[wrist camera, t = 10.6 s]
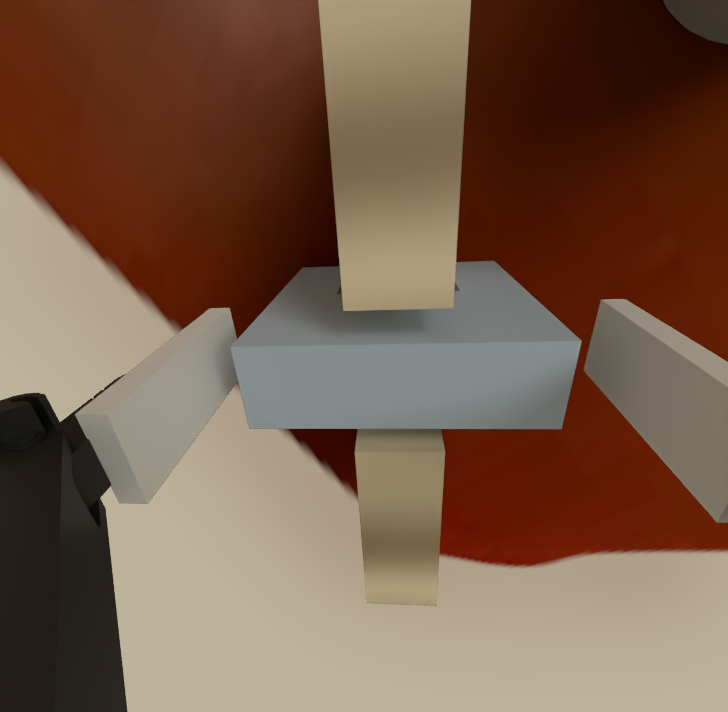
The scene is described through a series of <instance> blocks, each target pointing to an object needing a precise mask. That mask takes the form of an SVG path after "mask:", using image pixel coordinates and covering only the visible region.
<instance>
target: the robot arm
mask: <svg viewBox="0 0 728 712" xmlns="http://www.w3.org/2000/svg"><path fill="white" fill-rule="evenodd" d="M236 340H237V337H236V333H235V329H234V324H233V320H232V316H231V311H230V308H210V309H209V310H207V311H206V312H205V313H203V314H202V315H201V316H200V317H198V318H197V319H196V320H195V321H193V322H192V323H191V324H189V325H188V326H187V327H186V328H184V329H183V330H182V331H180V332H179V333H178V334H177V335H175V336H174V337H173V338H172V339H170V340H169V341H168V342H166V343H165V344H164V345H163V346H161V347H160V348H159V349H157V350H156V351H155V352H154V353H152V354H151V355H150V356H149V357H147V358H146V359H145V360H144V361H142V362H141V363H140V364H138V365H137V366H136V367H134V368H133V369H132V370H131V371H129V372H128V373H127V374H125V375H123V376H121V377H119V378H117V379H116V380H114V381H113V382H112V383H110V384H109V385H108V386H107V387H105V388H104V390H101V391H100V392H99V393H97V394H96V395H95V396H94V399H90V400H88V401H87V402H86V403H85V404H83V405H82V406H81V407H79V408H78V409H77V410H76V411H74V412H73V413H72V414H70V415H69V416H68V417H67V418H65V419H64V420H63V421H61V422H59V420H58V418H57V416H56V415H55V413H54V411H53V409H52V407H51V405H50V403H49V401H48V400H47V398H46V396H45V395H44V394H40V393H28V394H23V395H17V396H13V397H10V398H7V399H4V400H1V401H0V712H127V706H126V695H125V686H124V676H123V667H122V658H121V649H120V640H119V630H118V621H117V612H116V602H115V593H114V584H113V574H112V565H111V556H110V546H109V538H108V528H107V519H106V510H105V507H104V505H103V503H102V501H101V499H100V497H101V496H102V495H103V494H104V493H105V492H106V491H107V489H108V488H109V487H110V486H111V487H112V490H113V491H114V494H115V496H116V497H117V499H118V501H119V503H130V504H148V503H149V502H150V500H151V499H152V498H153V496H154V495H155V494H156V492H157V491H158V489H159V488H160V487H161V485H162V484H163V483H164V481H165V480H166V478H167V477H168V476H169V474H170V473H171V472H172V470H173V469H174V468H175V466H176V465H177V463H178V462H179V461H180V459H181V458H182V457H183V455H184V454H185V452H186V451H187V450H188V448H189V447H190V446H191V444H192V443H193V441H194V440H195V439H196V437H197V436H198V435H199V433H200V432H201V430H202V429H203V428H204V426H205V425H206V424H207V422H208V421H209V420H210V418H211V416H213V414H214V413H215V411H216V410H217V409H218V407H219V406H220V404H221V403H222V402H223V400H224V399H225V398H226V396H227V395H228V394H229V392H230V391H231V390H232V388H233V387H234V385H235V384H236V383H237V381H238V378H237V374H236V370H235V365H234V361H233V357H232V352H231V348H230V347H231V346H232V345H233V344H234V342H235V341H236ZM584 371H585V373H586V374H587V375H588V376H589V377H590V378H591V379H592V381H593V382H594V383H595V384H596V385H597V386H598V387H599V389H600V390H601V391H602V392H603V393H604V394H605V395H606V396H607V398H608V399H609V400H610V401H611V402H612V403H613V404H614V406H615V407H616V408H617V409H618V410H619V411H620V412H621V414H622V415H623V416H624V417H625V418H626V419H627V420H628V422H629V423H630V424H631V425H632V426H633V427H634V428H635V430H636V431H637V432H638V433H639V434H640V435H641V436H642V438H643V439H644V440H645V441H646V442H647V443H648V444H649V445H650V447H651V448H652V449H653V450H654V451H655V452H656V453H657V455H658V456H659V457H660V458H661V459H662V460H663V461H664V463H665V464H666V465H667V466H668V467H669V468H670V469H671V471H672V472H673V473H674V474H675V475H676V476H677V477H678V479H679V480H680V481H681V482H682V483H683V484H684V485H685V486H686V488H687V489H688V490H689V491H690V492H691V493H692V494H693V496H694V497H695V498H696V499H697V500H698V501H699V502H700V504H701V505H702V506H703V507H704V508H705V509H706V510H707V512H708V513H709V514H710V515H711V516H712V517H713V518H714V520H715V521H716V522H718V523H728V362H727V361H725V360H723V359H722V358H720V357H719V356H717V355H715V354H714V353H712V352H710V351H709V350H707V349H706V348H704V347H702V346H701V345H699V344H697V343H696V342H694V341H693V340H691V339H689V338H688V337H686V336H684V335H683V334H681V333H680V332H678V331H676V330H675V329H673V328H671V327H670V326H668V325H667V324H665V323H663V322H662V321H660V320H658V319H657V318H655V317H653V316H652V315H650V314H649V313H647V312H645V311H644V310H642V309H640V308H639V307H637V306H636V305H634V304H632V303H631V302H629V301H627V300H626V299H605V300H601V302H600V306H599V310H598V314H597V318H596V322H595V326H594V330H593V334H592V338H591V342H590V346H589V350H588V354H587V358H586V362H585V366H584Z"/></svg>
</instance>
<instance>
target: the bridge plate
mask: <svg viewBox="0 0 728 712" xmlns="http://www.w3.org/2000/svg"><path fill="white" fill-rule="evenodd" d="M581 342H582V341H581V340H580V339H579V338H578V337H577V336H576V335H575V334H574V333H572V332H571V331H570V330H569V329H568V328H567V327H566V326H565V325H564V324H563V323H561V322H560V321H559V320H558V319H557V318H556V317H555V316H554V315H553V314H552V313H551V312H549V311H548V310H547V309H546V308H545V307H544V306H543V305H542V304H541V303H540V302H538V301H537V300H536V299H535V298H534V297H533V296H532V295H531V294H530V293H529V292H528V291H526V290H525V289H524V288H523V287H522V286H521V285H520V284H519V283H518V282H517V281H515V280H514V279H513V278H512V277H511V276H510V275H509V274H508V273H507V272H506V271H505V270H503V269H502V268H501V267H500V266H499V265H498V264H497V263H496V262H495V261H475V262H456V270H455V287H454V305H453V308H444V309H406V310H367V311H343V301H342V288H341V276H340V266H334V267H306V268H302V269H301V270H300V271H299V272H298V273H297V274H296V275H295V277H294V278H293V279H292V280H291V281H290V282H289V283H288V284H287V285H286V286H285V288H284V289H283V290H282V291H281V292H280V293H279V294H278V295H277V296H276V297H275V298H274V300H273V301H272V302H271V303H270V304H269V305H268V306H267V307H266V308H265V309H264V311H263V312H262V313H261V314H260V315H259V316H258V317H257V318H256V319H255V320H254V322H253V323H252V324H251V325H250V326H249V327H248V328H247V329H246V330H245V331H244V333H243V334H242V335H241V336H240V337H239V338H238V339H237V340H236V341H235V342H234V344H233V345H232V346H231V347H230V348H231V352H232V357H233V361H234V365H235V370H236V374H237V378H238V383H239V387H240V391H241V395H242V400H243V404H244V408H245V413H246V416H247V421H248V425H249V428H250V429H263V428H264V429H562V425H563V421H564V416H565V412H566V407H567V403H568V399H569V394H570V390H571V385H572V381H573V377H574V372H575V368H576V364H577V359H578V355H579V350H580V346H581Z"/></svg>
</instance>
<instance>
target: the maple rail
mask: <svg viewBox="0 0 728 712" xmlns="http://www.w3.org/2000/svg"><path fill="white" fill-rule="evenodd" d="M318 3H319V15H320V28H321V40H322V52H323V65H324V77H325V90H326V102H327V114H328V127H329V139H330V152H331V164H332V176H333V189H334V201H335V214H336V226H337V239H338V251H339V263H340V276H341V288H342V301H343V311H367V310H406V309H444V308H453V305H454V287H455V270H456V253H457V235H458V218H459V200H460V183H461V165H462V148H463V131H464V113H465V96H466V78H467V61H468V43H469V26H470V8H471V0H318ZM355 462H356V474H357V487H358V499H359V512H360V524H361V535H362V549H363V561H364V572H365V586H366V599H367V603H377V604H400V605H424V606H436V601H437V583H438V567H439V549H440V532H441V514H442V497H443V479H444V462H445V449H444V444H443V438H442V433H441V429H358V431H357V438H356V446H355Z"/></svg>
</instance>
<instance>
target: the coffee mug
mask: <svg viewBox="0 0 728 712" xmlns="http://www.w3.org/2000/svg"><path fill="white" fill-rule="evenodd" d="M663 2H664V4H665V6H666V8H667V9H668V11H669V12H670V13H671V14H672V15H673V16H674V17H675V19H676V20H677V21H678V22H679V23H680V24H681V25H682V26H684V27H685V28H687V29H688V30H689V31H691V32H693V33H695V34H697V35H699V36H701V37H703V38H705V39H708V40H710V41H714V42H718V43H724V44H728V0H663Z"/></svg>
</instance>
